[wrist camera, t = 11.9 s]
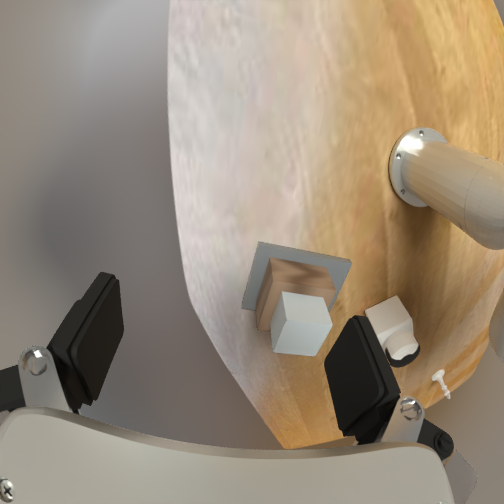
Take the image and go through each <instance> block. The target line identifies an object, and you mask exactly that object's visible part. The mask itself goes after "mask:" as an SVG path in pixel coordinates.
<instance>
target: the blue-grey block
mask: <svg viewBox="0 0 504 504" xmlns="http://www.w3.org/2000/svg"><path fill="white" fill-rule="evenodd" d="M332 326H333V324H332V321H331V318H330V315H329V313H328V310H327V307H326V304H325V301H324V298H322V297H316V296H309V295H302V294H296V293H289V292H283V291H282V292H281V295H280V298H279V300H278V303H277V306H276V309H275V311H274V314H273V317H272V320H271V322H270V329H271V339H272V350H273V353H283V354H293V355H305V356H316V354H317V352H318V351H319V349H320V347H321V346H322V344H323V342H324V340H325V338H326V337H327V335H328V333H329V331H330V329H331V328H332Z"/></svg>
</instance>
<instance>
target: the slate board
mask: <svg viewBox="0 0 504 504" xmlns="http://www.w3.org/2000/svg"><path fill="white" fill-rule="evenodd" d="M270 257H273V258H279V259H284V260H289V261H295V262H300V263H306V264H311V265H317V266H322V267H326V268H327V270H328V272H329V275H330V277H331V279H332V281H333V284H334V286H335V288H336V293H335V295H334V297H333V299H332V301H331V304H330V306H329V308H328V313H329V312H330V310H331V308H332V306H333V304H334V302H335V300H336V298H337V295H338V293H339V291H340V289H341V287H342V285H343V283H344V281H345V278H346V276H347V274H348V272H349V269H350V267H351V265H352V262H351V261H350V260H349V259H345V258H340V257H335V256H330V255H325V254H320V253H315V252H310V251H305V250H299V249H294V248H289V247H284V246H279V245H274V244H269V243H264V242H258V246H257V249H256V253H255V257H254V261H253V265H252V269H251V272H250V276H249V280H248V284H247V288H246V291H245V295H244V299H243V303H242V309H248V310H254V311H256V302H257V299H258V295H259V292H260V289H261V285H262V282H263V279H264V275H265V272H266V268H267V265H268V262H269V258H270Z"/></svg>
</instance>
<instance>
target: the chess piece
mask: <svg viewBox="0 0 504 504" xmlns="http://www.w3.org/2000/svg"><path fill="white" fill-rule="evenodd" d="M444 373H445V371H444V370H443V369H442V370H439V371H437V372H436V373H435V374H433V376H432V377H431V379H432V381H436V380H437V381H438V382H439V383H440V384H441V386H442V389H441V390H444V396H446V395H447V398H448V399H450V395H449V393H450V391H449V390H448V389H446V388H447V385H446V386H445V384H444V382H443V379H442V377H443V375H444Z"/></svg>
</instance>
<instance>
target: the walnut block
mask: <svg viewBox="0 0 504 504" xmlns="http://www.w3.org/2000/svg"><path fill="white" fill-rule="evenodd" d="M282 291H283V292H289V293H296V294H302V295H309V296H316V297H322V298H324V301H325V304H326V307H327V310H328V308H329V306H330V304H331V301H332V299H333V297H334V295H335V293H336V288H335V286H334V284H333V281H332V279H331V277H330V275H329V272H328V270H327V268H326V267H322V266H317V265H311V264H306V263H300V262H295V261H289V260H284V259H279V258H273V257H270V258H269V262H268V265H267V268H266V272H265V275H264V279H263V282H262V285H261V289H260V292H259V295H258V299H257V302H256V316H257V330H263V331H271V329H270V322H271V320H272V317H273V314H274V311H275V309H276V306H277V303H278V300H279V298H280V295H281V292H282Z"/></svg>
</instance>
